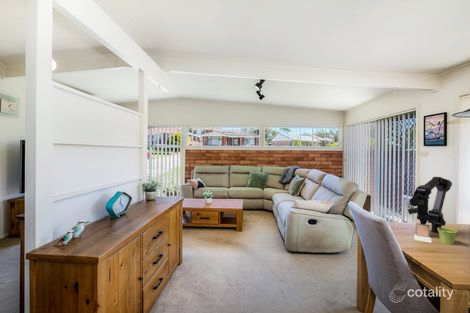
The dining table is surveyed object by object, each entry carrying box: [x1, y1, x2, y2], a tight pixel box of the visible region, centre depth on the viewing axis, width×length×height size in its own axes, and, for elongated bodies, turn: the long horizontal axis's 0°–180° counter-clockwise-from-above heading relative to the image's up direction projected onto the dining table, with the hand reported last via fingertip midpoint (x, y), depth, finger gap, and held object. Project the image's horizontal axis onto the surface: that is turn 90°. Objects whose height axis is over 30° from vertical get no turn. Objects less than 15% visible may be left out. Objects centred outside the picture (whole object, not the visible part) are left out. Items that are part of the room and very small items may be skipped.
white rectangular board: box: [413, 233, 432, 244], centre depth 160 cm, size 14×9×1 cm, turn 142°
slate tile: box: [415, 222, 430, 237], centre depth 164 cm, size 2×7×8 cm, turn 52°
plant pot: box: [437, 227, 458, 246], centre depth 152 cm, size 9×9×9 cm
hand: (422, 227), depth 166 cm, fingers closed
